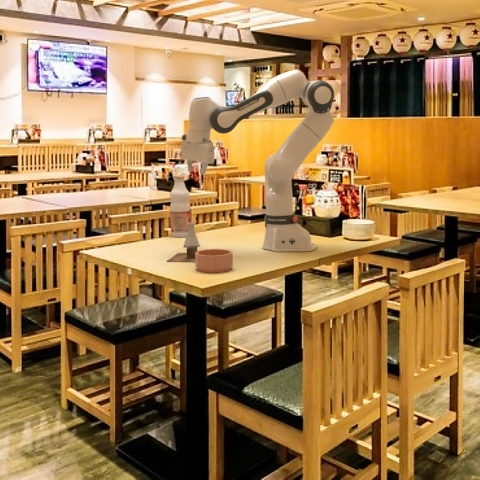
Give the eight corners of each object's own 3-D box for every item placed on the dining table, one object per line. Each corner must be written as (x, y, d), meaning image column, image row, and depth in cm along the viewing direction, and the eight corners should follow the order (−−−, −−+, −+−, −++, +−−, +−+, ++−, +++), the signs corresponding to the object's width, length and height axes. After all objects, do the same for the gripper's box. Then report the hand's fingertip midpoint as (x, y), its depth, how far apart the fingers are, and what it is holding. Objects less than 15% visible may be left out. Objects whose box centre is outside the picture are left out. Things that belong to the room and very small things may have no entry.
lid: (216, 256, 262) (216, 243, 261) (207, 264, 246) (207, 251, 246) (178, 255, 265) (177, 243, 264) (166, 263, 249) (166, 250, 249)
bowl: (235, 265, 241) (235, 249, 240) (228, 273, 228) (227, 256, 227) (201, 264, 243) (200, 248, 242) (192, 272, 231) (191, 255, 230)
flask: (197, 247, 277) (197, 224, 275) (181, 247, 278) (180, 224, 277) (202, 244, 284) (201, 222, 282) (186, 244, 285) (185, 221, 284)
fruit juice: (167, 235, 309) (165, 176, 304) (184, 233, 314) (182, 175, 309) (177, 238, 301) (175, 177, 296) (194, 236, 306) (193, 176, 301)
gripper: (219, 140, 255) (217, 175, 257) (192, 136, 271) (190, 169, 274) (205, 140, 251) (203, 175, 254) (179, 135, 267) (177, 169, 270)
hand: (196, 172), depth 264 cm, fingers open, 8 cm apart
